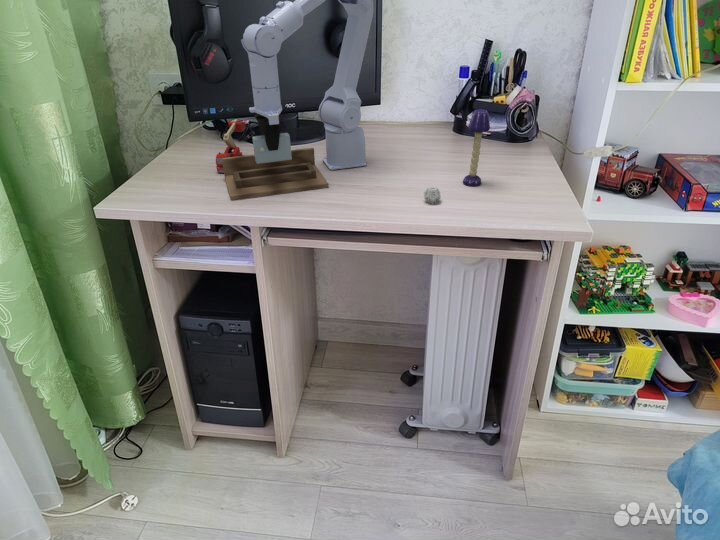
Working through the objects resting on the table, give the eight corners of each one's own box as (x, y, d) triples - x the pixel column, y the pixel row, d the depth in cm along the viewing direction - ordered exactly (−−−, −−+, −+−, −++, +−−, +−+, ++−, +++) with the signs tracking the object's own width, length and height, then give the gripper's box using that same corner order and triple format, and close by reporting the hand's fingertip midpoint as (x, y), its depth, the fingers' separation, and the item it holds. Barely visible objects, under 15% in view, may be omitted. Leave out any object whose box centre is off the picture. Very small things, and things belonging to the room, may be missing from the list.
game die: (443, 203, 116) (444, 190, 115) (427, 206, 115) (428, 193, 113) (436, 197, 119) (436, 184, 117) (420, 199, 118) (421, 187, 116)
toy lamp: (485, 181, 126) (493, 108, 118) (482, 188, 123) (490, 114, 114) (464, 178, 128) (470, 107, 119) (460, 186, 124) (467, 112, 115)
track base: (314, 167, 136) (313, 147, 133) (328, 187, 124) (327, 166, 122) (224, 178, 130) (221, 158, 128) (231, 200, 119) (228, 179, 116)
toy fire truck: (215, 173, 133) (209, 135, 128) (237, 155, 145) (232, 119, 140) (228, 174, 132) (222, 135, 127) (249, 156, 144) (245, 119, 139)
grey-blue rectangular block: (289, 156, 127) (287, 132, 124) (292, 160, 124) (290, 136, 121) (255, 160, 125) (252, 136, 122) (257, 164, 122) (254, 140, 119)
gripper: (242, 80, 121) (249, 140, 128) (251, 95, 109) (259, 160, 116) (274, 78, 123) (279, 137, 130) (286, 92, 111) (291, 156, 118)
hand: (272, 147), depth 123 cm, fingers closed on grey-blue rectangular block, 2 cm apart
